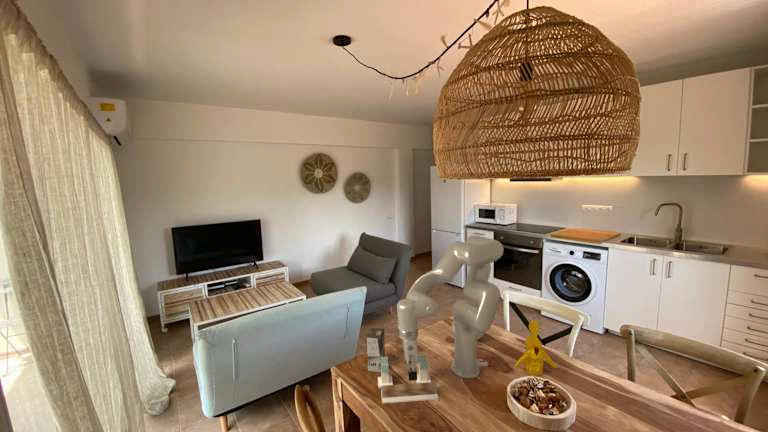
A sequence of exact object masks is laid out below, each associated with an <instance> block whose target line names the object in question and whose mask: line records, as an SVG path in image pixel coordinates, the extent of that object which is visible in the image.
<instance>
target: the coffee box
mask: <svg viewBox="0 0 768 432" xmlns="http://www.w3.org/2000/svg"><path fill="white" fill-rule="evenodd" d="M385 342H386V340H385V328H383V327H382V328H379V327H371V328H370V330H369V332H368V334H367V337H366V346H367V347H366V348H367V349H366V350H367V353H366V354H367V371H368V372H375V373H381V357H386V348H385V347H386V345H385Z"/></svg>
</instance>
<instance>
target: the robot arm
mask: <svg viewBox="0 0 768 432" xmlns="http://www.w3.org/2000/svg"><path fill="white" fill-rule="evenodd" d="M503 254H504V246H503V244H502V243H501V242H500V241H499V240H497V239H493V238H489V237H484V236H480V235H470V236H468V237H467V238H466V241H465V242H463V241H459V240H458V241H454V242H452V243H451V244H450V245H449V247H448V248H447V250H446V251H445V253H444V254H443V255H442V257H441V258H440V260H439V261H438V263H437V264H436V265H435V267H434V268H433V269H432V270H429V271H427V272H426V273H424V274H423V275H421V276H420V277H419V278H417V279H416V280H415V282H414V283H413V284H412V286H410V289H409V290H408V292H407V293H406V297H405V298H404V299H400V300H399V301H398V302H397V304H396V311H397V313H396V314H397V327H398V337H399V338H400V339H401V340H402V350H403V355H404V362H405V363H404V364H405V365H407V367H408V370H407V372H408V373H407V374H408V381H410V382H411V381H412V382H413V381H416V380H417V374H418V370H417V365H419V363H420V362H419V358H418V355H419V351H418V350H419V348H418V339H417V338H419V323H418V322H419V319H426V318H427V319H428V318H430V317H433V316H434V315H436V314H437V312H438V310H439V305H438V302H437V301H436V300H435V299H434V298H432V297H431V296H428V295H427V294H426V293H427V291H428V290H429V289H430V288H432V287H434V286H436V285H439V284H440V285H441V284H446V283H447V284H448V283H451V282H452V281H453V282H454V279H455V278H456V276H457V274H458V273H459V272H460V271H461V268H462V267H463V266H464V265H465V266H468V267H469V271H468V273H467V277H466V279H465V282H464V286H463V293H464V294H463V295H464V296H466V297H467V298H469V299H470V300H473V301H475V302H476V303H478V305H477V304H476V303H473V302H471V301H470V300H466V299H459V300H457V301H455V303H454V304H453V306H452V311H451V313H452V318H453V321H454V326H455V333H454V360H453V361H452V362H451V364H450V370H451V372H452V373H453V374H454V375H456V376H458V377H460V378H463V379H474V378H477V377H478V376H479V375H480V374H481V368H482V367H489V364H488V361H484V360H483V358H479V359H478V339H477V332H479V333H484V334H485V333H487V332H488V331H489V330H490V329H491V327H492V324H493V322H494V319H495V316H496V313H497V310H498V307H499V304H500V300H501V291H500V288H499V287H498V285H496V284H494V283H492V282H490V281H489V279H490V276H491V272H492V265H491V263H494V262H496V261H498V260H500V258H501V257H502V256H503Z"/></svg>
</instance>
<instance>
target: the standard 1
mask: <svg viewBox="0 0 768 432" xmlns="http://www.w3.org/2000/svg"><path fill="white" fill-rule="evenodd" d="M388 357H389V356H385V357H381V372H380V373H381V375H380V376H378V377H377V386H378V387H377V388H378V389H382V386H385V385H394V383H393V376H392V375H390V374H389V372H390V370H389V369H390V368H389V366H390V365H389V358H388Z"/></svg>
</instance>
